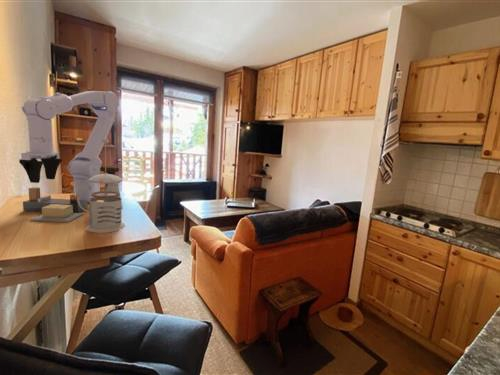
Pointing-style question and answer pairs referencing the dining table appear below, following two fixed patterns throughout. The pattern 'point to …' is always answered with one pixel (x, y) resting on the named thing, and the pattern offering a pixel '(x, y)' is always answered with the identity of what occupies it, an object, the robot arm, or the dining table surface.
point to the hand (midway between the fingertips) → (43, 180)
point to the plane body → (51, 201)
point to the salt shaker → (113, 188)
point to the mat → (68, 219)
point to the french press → (104, 204)
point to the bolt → (109, 170)
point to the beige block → (57, 211)
